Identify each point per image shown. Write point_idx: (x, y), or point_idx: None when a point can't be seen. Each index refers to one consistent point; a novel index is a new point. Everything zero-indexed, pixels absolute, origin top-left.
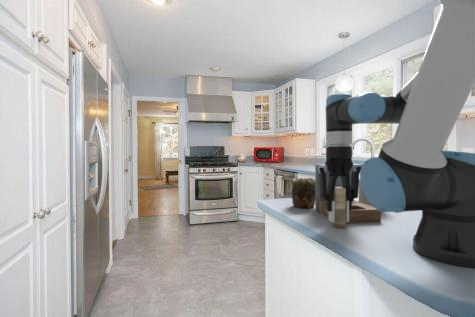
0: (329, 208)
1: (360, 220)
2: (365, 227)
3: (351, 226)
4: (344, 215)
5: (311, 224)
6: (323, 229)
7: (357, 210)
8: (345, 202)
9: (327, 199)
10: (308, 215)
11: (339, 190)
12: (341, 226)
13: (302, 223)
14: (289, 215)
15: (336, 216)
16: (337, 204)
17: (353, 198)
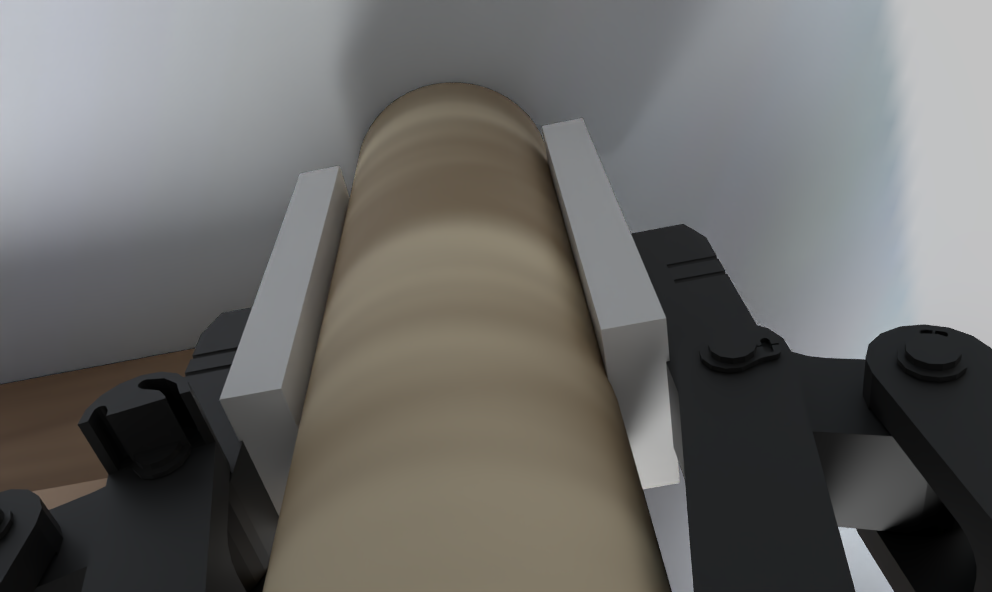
0: (681, 258)
1: (97, 381)
2: (65, 145)
3: (267, 184)
4: (377, 187)
5: (806, 246)
6: (734, 11)
7: (88, 481)
8: (323, 355)
9: (801, 371)
10: (688, 580)
11: (519, 559)
12: (439, 94)
13: (907, 283)
14: None
15: (526, 171)
16: (533, 284)
17: (83, 500)
